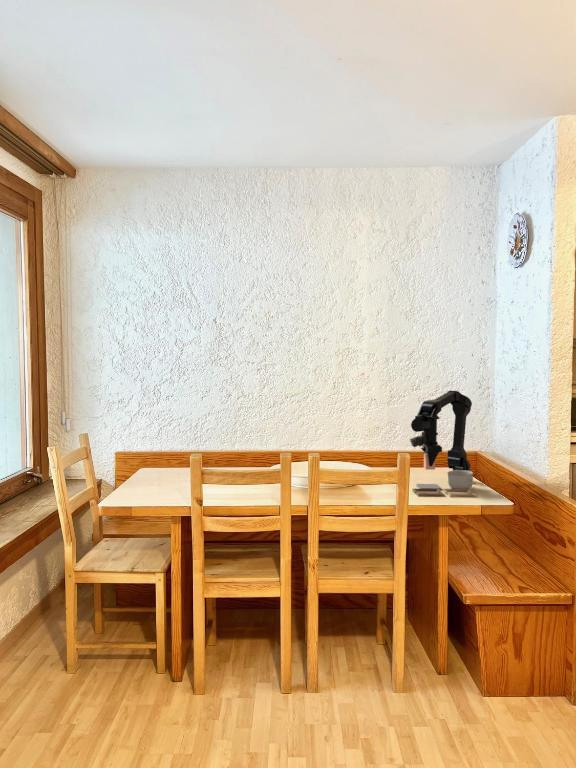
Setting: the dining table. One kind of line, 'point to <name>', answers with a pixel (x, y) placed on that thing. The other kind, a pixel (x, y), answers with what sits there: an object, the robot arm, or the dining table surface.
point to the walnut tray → (428, 492)
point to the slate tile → (428, 486)
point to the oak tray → (459, 493)
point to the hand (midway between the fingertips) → (429, 465)
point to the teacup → (460, 479)
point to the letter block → (426, 463)
